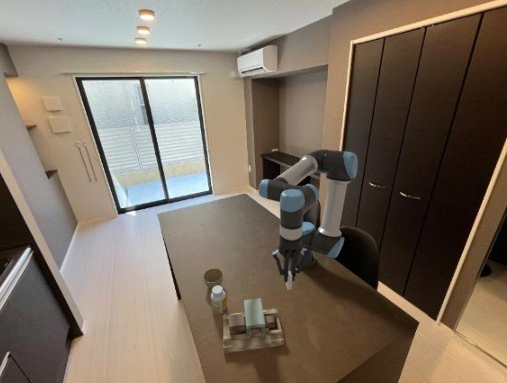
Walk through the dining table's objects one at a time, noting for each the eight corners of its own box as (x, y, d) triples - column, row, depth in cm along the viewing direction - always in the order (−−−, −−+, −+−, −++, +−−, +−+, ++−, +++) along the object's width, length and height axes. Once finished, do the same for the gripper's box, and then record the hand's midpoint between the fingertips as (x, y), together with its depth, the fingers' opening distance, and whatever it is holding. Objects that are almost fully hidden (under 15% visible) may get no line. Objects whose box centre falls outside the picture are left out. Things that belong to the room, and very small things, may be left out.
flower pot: (205, 295, 110) (203, 284, 108) (203, 281, 119) (202, 270, 117) (225, 291, 113) (224, 280, 110) (222, 277, 122) (221, 266, 119)
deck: (276, 313, 100) (276, 293, 96) (283, 344, 88) (284, 324, 83) (224, 319, 98) (221, 300, 94) (223, 353, 85) (221, 332, 81)
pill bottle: (227, 302, 107) (225, 283, 102) (226, 314, 101) (224, 294, 96) (213, 303, 106) (211, 284, 102) (211, 315, 100) (208, 295, 96)
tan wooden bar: (272, 318, 95) (272, 309, 93) (275, 329, 90) (275, 320, 88) (229, 323, 93) (228, 315, 91) (229, 335, 88) (229, 326, 87)
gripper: (305, 226, 81) (302, 277, 90) (269, 230, 80) (270, 281, 89) (313, 239, 74) (308, 292, 83) (274, 242, 73) (273, 297, 82)
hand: (288, 287), depth 86 cm, fingers closed
